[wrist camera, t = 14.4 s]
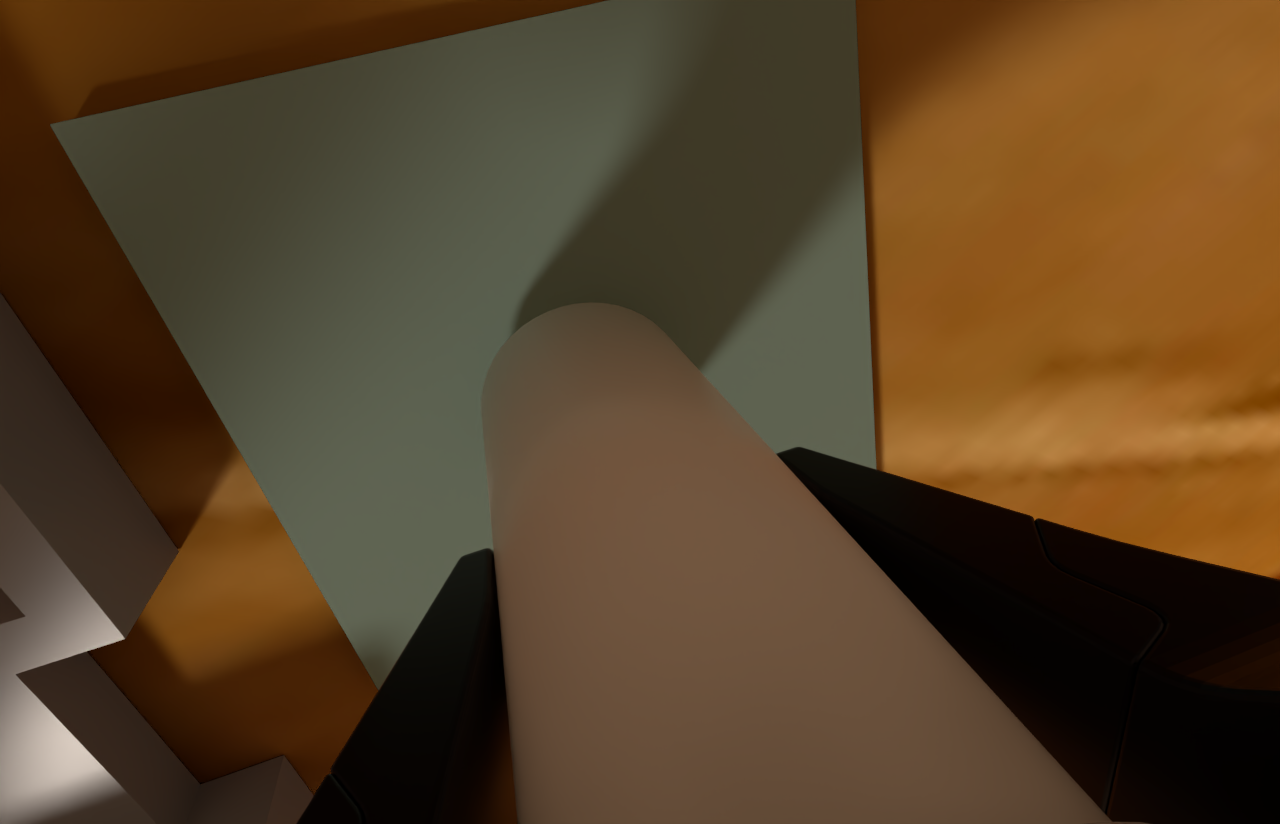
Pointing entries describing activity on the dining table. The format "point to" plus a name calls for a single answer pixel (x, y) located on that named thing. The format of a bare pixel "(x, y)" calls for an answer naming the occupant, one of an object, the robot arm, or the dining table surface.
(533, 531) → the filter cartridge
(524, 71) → the green mat
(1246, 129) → the dining table surface
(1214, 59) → the dining table surface
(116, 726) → the grey long framed piece
